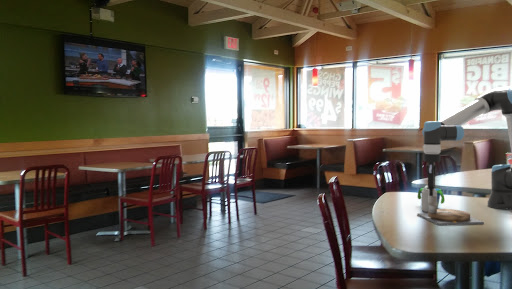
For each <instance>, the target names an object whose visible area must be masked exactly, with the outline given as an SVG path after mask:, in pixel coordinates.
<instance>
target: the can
mask: <svg viewBox="0 0 512 289" xmlns="http://www.w3.org/2000/svg"><path fill="white" fill-rule="evenodd" d="M422 188H423V190H422V195H421V199H420V200H421V203H420V204H421V205H420V206H421V211H422V213H423V212H424V213H428V211H429V202H428V189H427V188H424V187H422ZM435 196H437V191H436V189H435Z"/></svg>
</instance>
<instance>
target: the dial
mask: <svg viewBox="0 0 512 289" xmlns="http://www.w3.org/2000/svg"><path fill="white" fill-rule="evenodd" d="M427 213H428V216H429V217H431V218H434V219H438V220H445V221H467V220H470V217H471V213H469V212H468V211H464V210H459V209H452V208H438V207H437V196H429V211H428V212H427Z"/></svg>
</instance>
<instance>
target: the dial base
mask: <svg viewBox="0 0 512 289" xmlns="http://www.w3.org/2000/svg"><path fill="white" fill-rule="evenodd" d="M416 215H417V217H420V218H422V219H424V220H425V221H429V222H431V223H433V224H435V225H437V226H459V225H460V226H464V225H467V226H468V225H485V222H484V221H483V220H482V221H481V220H480V219H477V218H474V217H472V216H470V220H467V221H445V220H438V219H434V218H431V217H429V216H428V212H424V213H423V212H422V213H416Z"/></svg>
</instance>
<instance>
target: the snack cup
mask: <svg viewBox="0 0 512 289" xmlns="http://www.w3.org/2000/svg"><path fill="white" fill-rule="evenodd" d="M423 188H424V187H421V188H420V189H419V190H418V191H417V200H421V197H422V190H423ZM426 188H427V187H426ZM436 191H437V208H439V204H444V203H445V202H446V201H445V195H444V193H443V191H442V189H441V188H437V187H436ZM440 198H441V200H440Z"/></svg>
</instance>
